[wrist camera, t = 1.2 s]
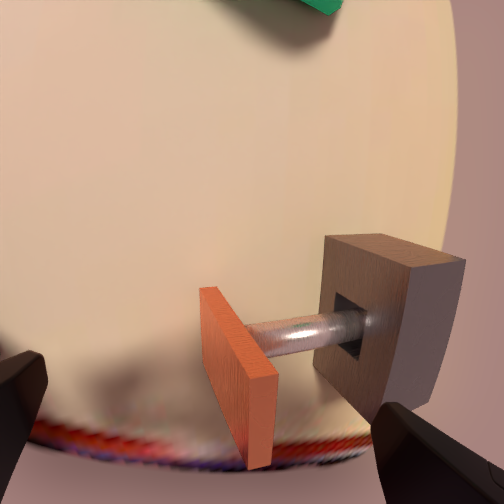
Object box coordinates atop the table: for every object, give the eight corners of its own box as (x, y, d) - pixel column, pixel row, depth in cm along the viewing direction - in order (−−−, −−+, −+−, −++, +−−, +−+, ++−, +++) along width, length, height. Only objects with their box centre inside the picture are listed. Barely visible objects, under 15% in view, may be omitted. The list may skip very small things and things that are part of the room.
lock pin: (202, 362, 19) (247, 470, 11) (199, 288, 18) (249, 378, 10) (371, 331, 23) (455, 389, 15) (380, 269, 22) (479, 313, 14)
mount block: (312, 365, 23) (373, 427, 16) (325, 235, 21) (411, 267, 14) (364, 351, 25) (428, 402, 18) (381, 233, 23) (466, 259, 15)
